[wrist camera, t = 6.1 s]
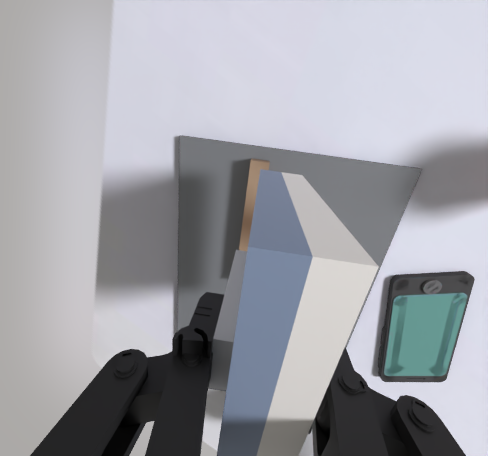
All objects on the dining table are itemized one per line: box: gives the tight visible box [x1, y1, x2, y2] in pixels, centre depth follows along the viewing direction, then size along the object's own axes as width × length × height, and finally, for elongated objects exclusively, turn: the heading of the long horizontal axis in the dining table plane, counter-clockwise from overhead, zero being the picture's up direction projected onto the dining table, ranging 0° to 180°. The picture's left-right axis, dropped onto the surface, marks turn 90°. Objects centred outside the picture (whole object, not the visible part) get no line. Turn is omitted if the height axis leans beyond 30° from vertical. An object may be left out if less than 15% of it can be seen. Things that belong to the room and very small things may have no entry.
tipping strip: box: [239, 158, 270, 251], centre depth 21 cm, size 12×2×2 cm, turn 173°
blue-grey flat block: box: [217, 169, 379, 456], centre depth 11 cm, size 12×2×10 cm, turn 173°
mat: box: [177, 136, 422, 347], centre depth 24 cm, size 24×20×1 cm
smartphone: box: [378, 271, 474, 382], centre depth 25 cm, size 7×1×15 cm
